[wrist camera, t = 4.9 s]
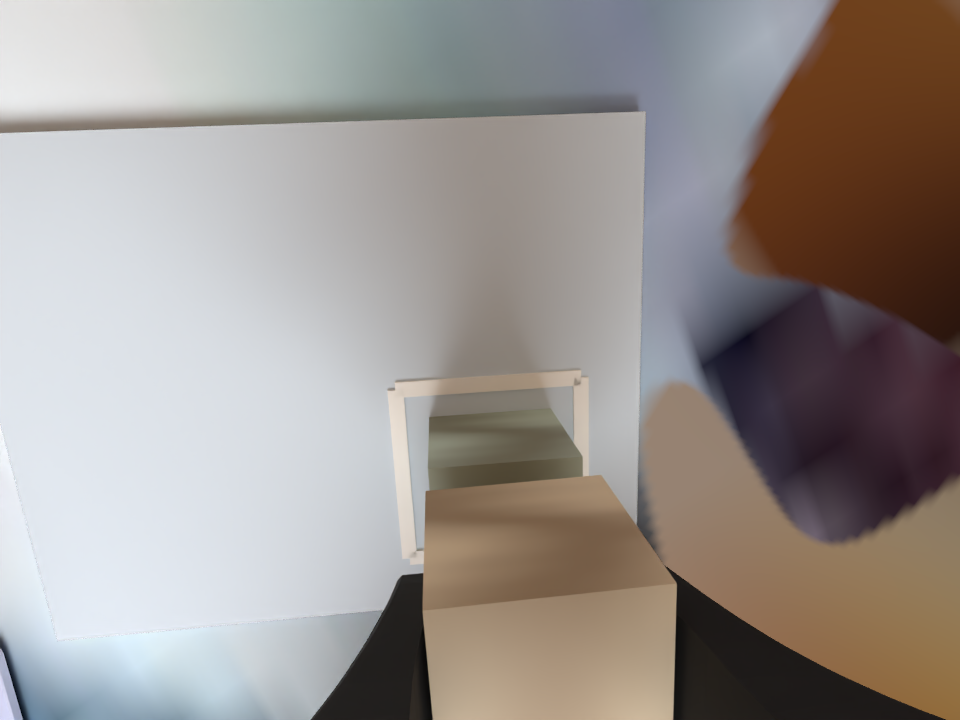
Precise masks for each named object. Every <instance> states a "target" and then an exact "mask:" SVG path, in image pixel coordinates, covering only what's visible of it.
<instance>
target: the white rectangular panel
mask: <svg viewBox="0 0 960 720" xmlns="http://www.w3.org/2000/svg"><path fill="white" fill-rule="evenodd" d="M645 124H646V111H642V112H613V113H583V114H553V115H523V116H494V117H464V118H434V119H404V120H374V121H345V122H315V123H285V124H255V125H226V126H196V127H166V128H136V129H107V130H77V131H47V132H17V133H0V426H1V430H2V433H3V437H4V441H5V445H6V449H7V452H8V456H9V460H10V464H11V468H12V471H13V475H14V479H15V483H16V487H17V490H18V494H19V498H20V502H21V506H22V509H23V513H24V517H25V521H26V525H27V528H28V532H29V536H30V540H31V544H32V547H33V551H34V555H35V559H36V563H37V566H38V570H39V574H40V578H41V582H42V586H43V589H44V593H45V597H46V601H47V605H48V608H49V612H50V616H51V620H52V624H53V627H54V631H55V635H56V639H57V641H65V640H75V639H86V638H96V637H107V636H117V635H128V634H138V633H149V632H159V631H170V630H180V629H191V628H201V627H212V626H222V625H233V624H243V623H254V622H264V621H275V620H285V619H296V618H306V617H317V616H327V615H338V614H348V613H359V612H369V611H380V610H384V609H385V607H386V605H387V603H388V601H389V599H390V597H391V594H392V592H393V590H394V588H395V585H396V582H397V580H398V579H399V578H400V577H401V576H402V575H408V574H419V573H423V572H424V533H425V494H426V491H430V490H429V477H428V442H429V417H437V416H451V415H465V414H479V413H493V412H507V411H521V410H535V409H549V408H551V410H552V411H553V413H554V414H555V416H556V417H557V419H558V420H559V422H560V423H561V425H562V426H563V428H564V429H565V431H566V432H567V434H568V435H569V437H570V438H571V440H572V441H573V443H574V444H575V446H576V447H577V449H578V450H579V452H580V453H581V455H582V456H583V476H594V475H602V477H603V478H604V480H605V481H606V483H607V484H608V485H609V487H610V488H611V490H612V491H613V493H614V494H615V495H616V497H617V498H618V500H619V501H620V503H621V504H622V505H623V507H624V508H625V510H626V511H627V513H628V514H629V516H630V517H631V518H632V520H633V521H634V523H635V524H636V526H637V495H638V449H639V403H640V356H641V310H642V263H643V217H644V170H645Z"/></svg>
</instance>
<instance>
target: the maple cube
mask: <svg viewBox="0 0 960 720" xmlns="http://www.w3.org/2000/svg"><path fill="white" fill-rule="evenodd" d="M676 598H677V583H676V581H675V580H674V579H673V577H672V576H671V574H670V573H669V571H668V570H667V569H666V567H665V566H664V564H663V563H662V561H661V560H660V559H659V557H658V556H657V554H656V553H655V551H654V550H653V549H652V547H651V546H650V544H649V543H648V541H647V540H646V538H645V537H644V536H643V534H642V533H641V531H640V530H639V528H638V527H637V526H636V524H635V523H634V521H633V520H632V518H631V517H630V516H629V514H628V513H627V511H626V510H625V508H624V507H623V505H622V504H621V503H620V501H619V500H618V498H617V497H616V495H615V494H614V493H613V491H612V490H611V488H610V487H609V485H608V484H607V483H606V481H605V480H604V478H603V477H602V475H594V476H583V477H572V478H561V479H550V480H540V481H529V482H518V483H507V484H496V485H485V486H475V487H464V488H453V489H442V490H431V491H426V494H425V533H424V572H423V621H424V632H425V642H426V653H427V663H428V674H429V684H430V695H431V705H432V716H433V720H673V706H674V670H675V634H676Z"/></svg>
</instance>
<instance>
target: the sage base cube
mask: <svg viewBox="0 0 960 720" xmlns="http://www.w3.org/2000/svg"><path fill="white" fill-rule="evenodd" d="M428 477H429V490H430V491H431V490H442V489H453V488H464V487H475V486H485V485H496V484H507V483H518V482H529V481H540V480H550V479H561V478H572V477H583V456H582V455H581V453H580V452H579V450H578V449H577V447H576V446H575V444H574V443H573V441H572V440H571V438H570V437H569V435H568V434H567V432H566V431H565V429H564V428H563V426H562V425H561V423H560V422H559V420H558V419H557V417H556V416H555V414H554V413H553V411H552V410H551V408H549V409H535V410H521V411H507V412H493V413H479V414H465V415H451V416H437V417H429V442H428Z"/></svg>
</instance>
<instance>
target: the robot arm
mask: <svg viewBox="0 0 960 720" xmlns="http://www.w3.org/2000/svg"><path fill="white" fill-rule="evenodd" d="M664 566H665V565H664ZM665 567H666V566H665ZM666 569H667V570H668V571H669V573H670V574H671V576H672V577H673V579H674V580H675V581H676V583H677V598H676V634H675V670H674V706H673V720H945V719H943V718H940V717H937V716H935V715H932V714H929V713H927V712H924V711H922V710H919V709H916V708H914V707H912V706H909V705H907V704H904V703H902V702H899V701H897V700H895V699H892V698H890V697H887V696H885V695H883V694H880V693H878V692H876V691H874V690H872V689H870V688H867V687H865V686H863V685H861V684H859V683H856V682H854V681H852V680H849V679H847V678H845V677H843V676H841V675H839V674H837V673H835V672H833V671H831V670H829V669H827V668H825V667H823V666H821V665H819V664H817V663H816V662H814V661H812V660H810V659H808V658H806V657H804V656H802V655H800V654H799V653H797V652H795V651H793V650H791V649H789V648H788V647H786V646H784V645H782V644H780V643H779V642H777V641H775V640H774V639H772V638H770V637H769V636H767V635H765V634H764V633H762V632H761V631H759V630H757V629H756V628H754V627H753V626H751V625H749V624H748V623H746V622H745V621H743V620H741V619H740V618H738V617H737V616H735V615H734V614H732V613H731V612H729V611H728V610H726V609H724V608H723V607H722V606H720V605H719V604H718V603H716V602H715V601H713V600H712V599H710V598H709V597H707V596H706V595H705V594H703V593H701V592H700V591H699V590H698V589H696V588H695V587H693V586H692V585H690V584H689V583H688V582H687V581H685V580H684V579H682V578H681V577H680V576H678V575H677V574H676V573H674V572H673V571H672V570H670V569H669V568H668V567H666ZM0 720H23V718H22V715H21V711H20V708H19V705H18V701H17V698H16V694H15V691H14V687H13V684H12V681H11V677H10V674H9V670H8V667H7V663H6V660H5V657H4V654H3V652H2V650H1V649H0ZM311 720H433V716H432V705H431V695H430V684H429V674H428V663H427V653H426V642H425V632H424V621H423V573H419V574H408V575H402V576H401V577H400V578H399V579H398V580H397V582H396V585H395V588H394V590H393V592H392V594H391V597H390V599H389V601H388V603H387V605H386V607H385V609H384V611H383V613H382V615H381V616H380V618H379V620H378V622H377V624H376V625H375V627H374V629H373V631H372V632H371V634H370V636H369V638H368V639H367V641H366V643H365V644H364V646H363V648H362V649H361V651H360V652H359V654H358V655H357V657H356V658H355V660H354V661H353V663H352V665H351V666H350V668H349V669H348V671H347V672H346V674H345V675H344V677H343V678H342V679H341V681H340V682H339V684H338V685H337V686H336V688H335V689H334V691H333V692H332V693H331V695H330V696H329V697H328V699H327V700H326V701H325V702H324V704H323V705H322V706H321V707H320V709H319V710H318V711H317V713H316V714H315V715H314V716H313V718H312V719H311Z"/></svg>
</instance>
